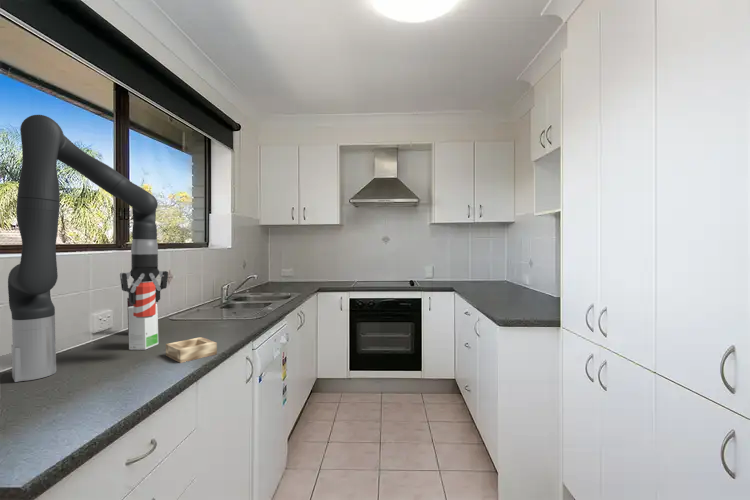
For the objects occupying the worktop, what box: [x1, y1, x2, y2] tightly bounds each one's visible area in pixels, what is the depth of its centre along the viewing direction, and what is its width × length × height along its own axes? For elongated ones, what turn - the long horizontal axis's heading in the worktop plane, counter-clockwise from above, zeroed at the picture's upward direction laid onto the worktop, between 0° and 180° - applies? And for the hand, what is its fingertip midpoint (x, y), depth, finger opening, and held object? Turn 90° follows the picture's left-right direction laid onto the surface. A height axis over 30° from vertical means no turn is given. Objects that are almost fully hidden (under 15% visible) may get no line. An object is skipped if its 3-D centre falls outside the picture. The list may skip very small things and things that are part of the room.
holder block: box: [165, 336, 218, 364], centre depth 127 cm, size 12×12×4 cm
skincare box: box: [127, 303, 159, 351], centre depth 137 cm, size 8×7×16 cm
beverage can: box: [133, 281, 157, 318], centre depth 124 cm, size 6×6×12 cm
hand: (144, 302), depth 124 cm, fingers closed on beverage can, 6 cm apart
